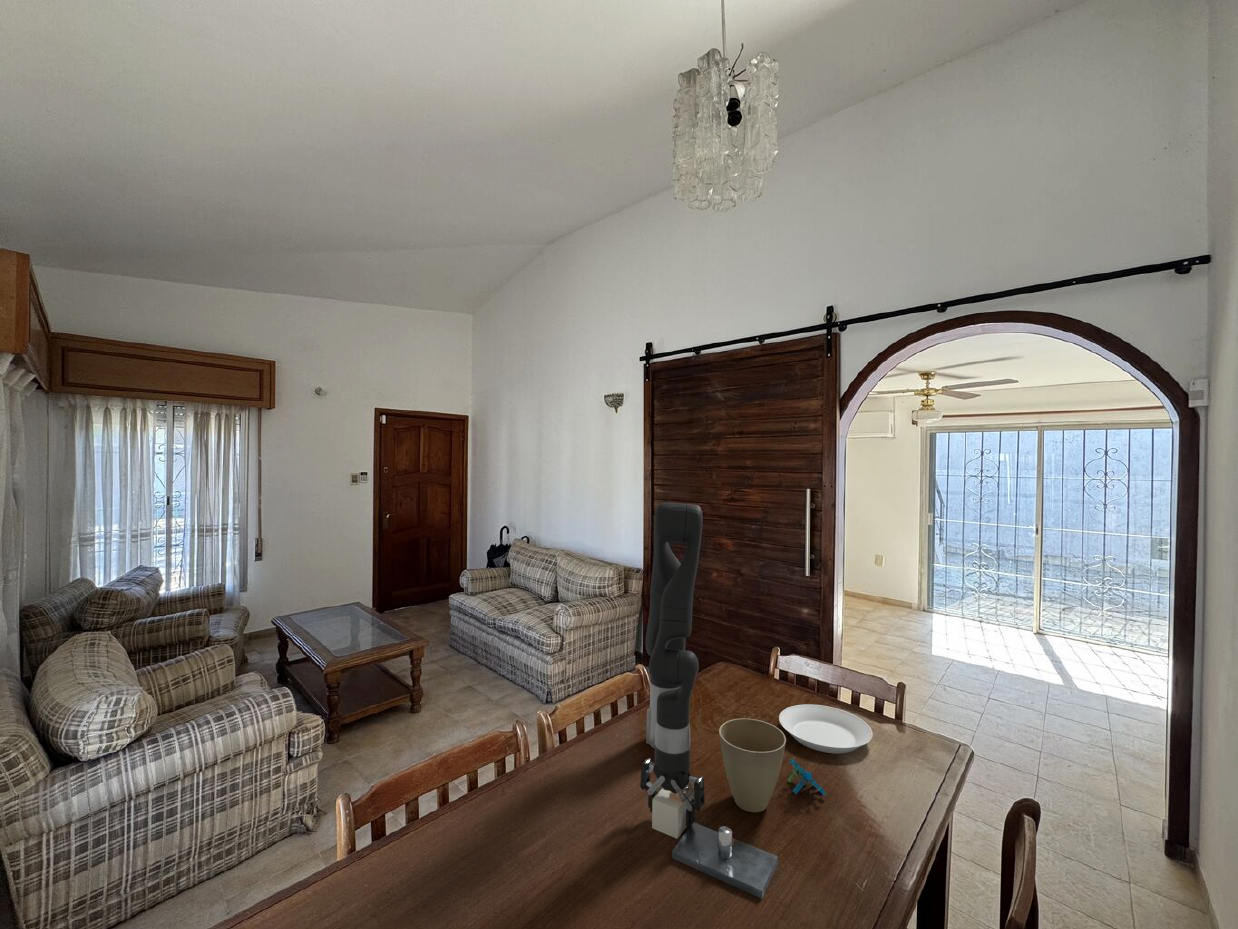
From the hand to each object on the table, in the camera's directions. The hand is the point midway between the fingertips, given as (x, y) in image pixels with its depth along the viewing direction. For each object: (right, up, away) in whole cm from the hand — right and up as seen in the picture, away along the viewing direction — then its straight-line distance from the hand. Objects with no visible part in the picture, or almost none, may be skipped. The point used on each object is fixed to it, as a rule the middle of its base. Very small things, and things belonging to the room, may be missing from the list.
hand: (671, 817), depth 116 cm
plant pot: (+19, -2, +8) cm, 21 cm away
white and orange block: (0, -2, 0) cm, 2 cm away
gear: (+34, -2, +13) cm, 36 cm away
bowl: (+48, -2, +39) cm, 61 cm away
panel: (+10, -2, -10) cm, 14 cm away
